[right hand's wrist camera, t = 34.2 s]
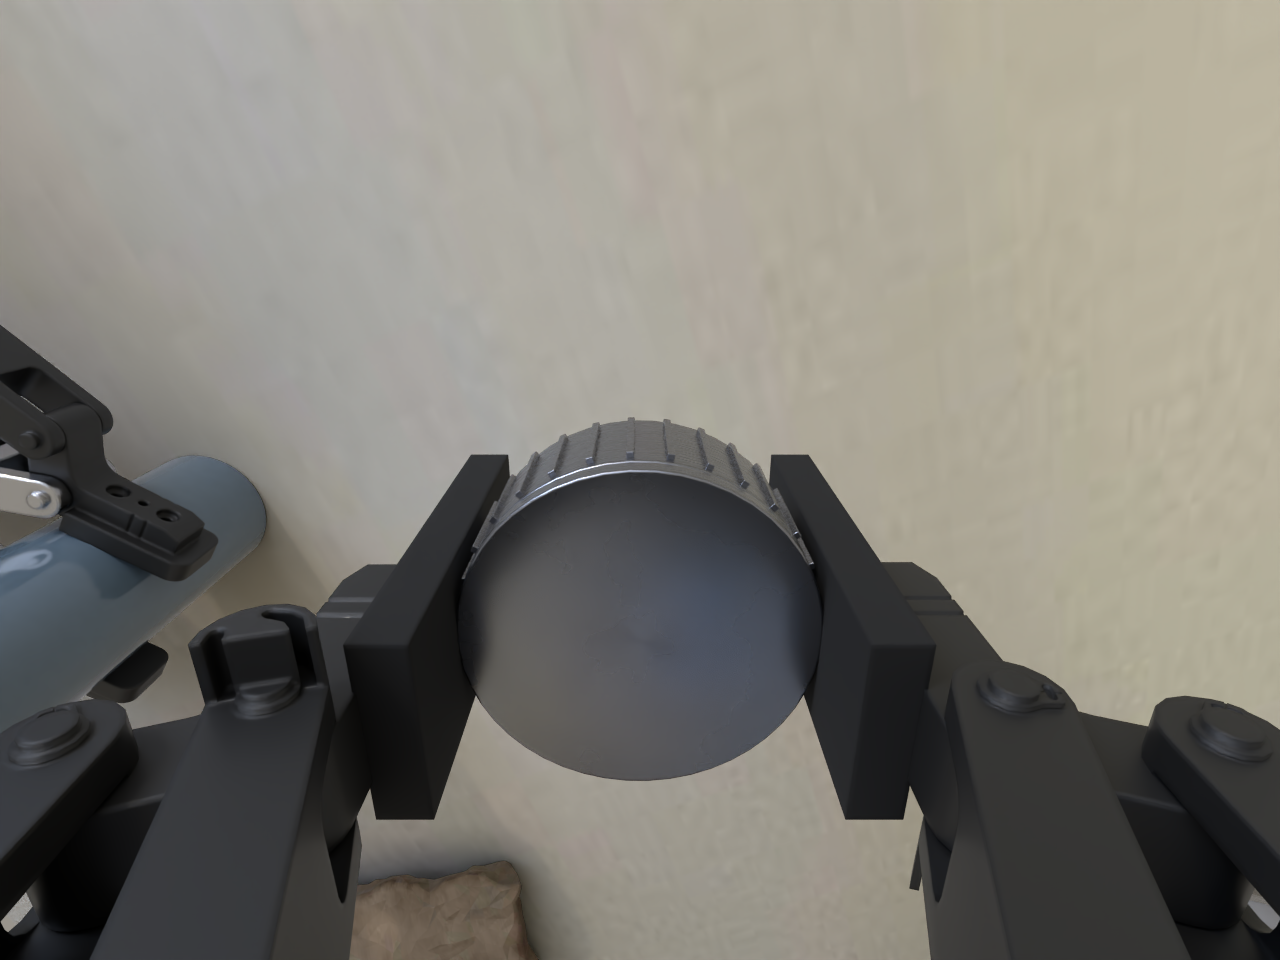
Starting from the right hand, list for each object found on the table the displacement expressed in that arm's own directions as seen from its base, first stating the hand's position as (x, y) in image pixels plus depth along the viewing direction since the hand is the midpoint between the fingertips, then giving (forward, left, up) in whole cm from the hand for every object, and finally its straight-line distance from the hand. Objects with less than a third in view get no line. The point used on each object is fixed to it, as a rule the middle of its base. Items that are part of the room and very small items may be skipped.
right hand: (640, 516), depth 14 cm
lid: (0, 0, +4) cm, 4 cm away
